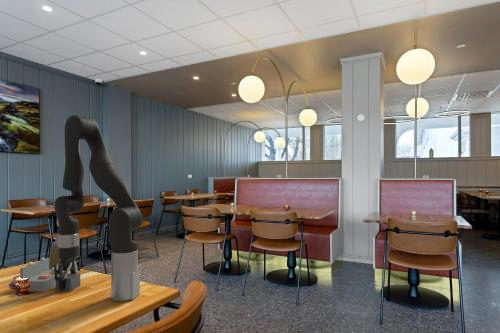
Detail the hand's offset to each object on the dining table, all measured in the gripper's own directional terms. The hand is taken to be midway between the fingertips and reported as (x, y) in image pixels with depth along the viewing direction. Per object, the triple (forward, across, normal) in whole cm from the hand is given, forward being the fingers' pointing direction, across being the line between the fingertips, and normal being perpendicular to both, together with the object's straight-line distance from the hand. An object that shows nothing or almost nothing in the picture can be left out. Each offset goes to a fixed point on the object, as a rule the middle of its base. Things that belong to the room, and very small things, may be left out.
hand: (68, 286), depth 126 cm
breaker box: (+1, +4, +12) cm, 12 cm away
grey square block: (+1, 0, 0) cm, 1 cm away
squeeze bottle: (+1, +20, +18) cm, 27 cm away
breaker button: (0, 0, +10) cm, 10 cm away
